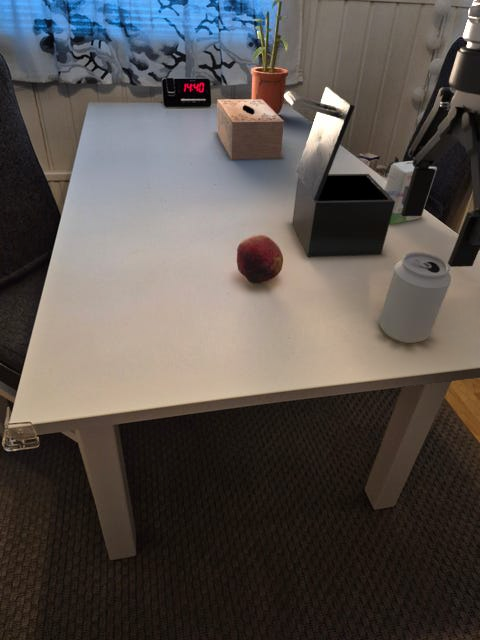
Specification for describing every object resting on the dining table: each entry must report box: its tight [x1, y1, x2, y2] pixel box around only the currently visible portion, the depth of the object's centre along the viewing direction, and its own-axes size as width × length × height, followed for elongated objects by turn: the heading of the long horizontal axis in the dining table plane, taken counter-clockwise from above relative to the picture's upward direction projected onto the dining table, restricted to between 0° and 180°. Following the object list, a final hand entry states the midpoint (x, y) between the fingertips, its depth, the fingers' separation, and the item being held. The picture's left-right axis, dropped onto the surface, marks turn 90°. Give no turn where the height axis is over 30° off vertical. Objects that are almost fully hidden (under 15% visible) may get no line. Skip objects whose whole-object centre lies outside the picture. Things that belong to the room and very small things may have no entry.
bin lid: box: [284, 86, 356, 201], centre depth 77 cm, size 16×14×9 cm
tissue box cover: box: [216, 98, 285, 161], centre depth 133 cm, size 26×14×10 cm, turn 11°
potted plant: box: [250, 0, 289, 115], centre depth 154 cm, size 17×16×35 cm
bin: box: [291, 173, 395, 258], centre depth 87 cm, size 15×14×11 cm
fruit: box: [236, 234, 284, 285], centre depth 74 cm, size 8×8×8 cm
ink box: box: [384, 160, 438, 225], centre depth 95 cm, size 9×5×12 cm, turn 114°
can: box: [378, 251, 452, 344], centre depth 64 cm, size 8×8×12 cm
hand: (433, 238), depth 58 cm, fingers open, 13 cm apart
